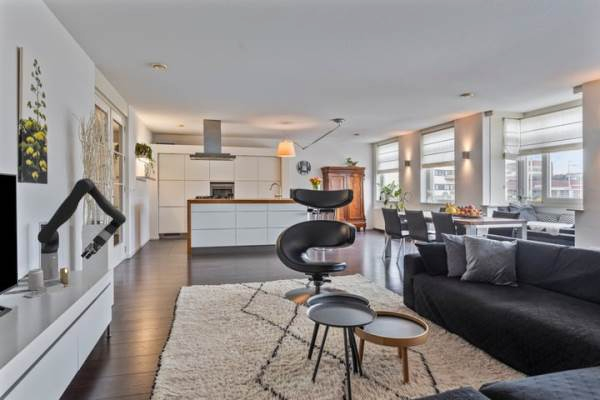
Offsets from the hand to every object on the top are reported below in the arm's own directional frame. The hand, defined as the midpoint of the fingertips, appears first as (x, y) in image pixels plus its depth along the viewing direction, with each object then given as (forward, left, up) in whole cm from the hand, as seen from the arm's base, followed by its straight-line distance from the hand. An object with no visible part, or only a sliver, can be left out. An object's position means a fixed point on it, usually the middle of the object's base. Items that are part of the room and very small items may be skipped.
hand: (84, 257), depth 232 cm
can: (-7, -25, -15) cm, 30 cm away
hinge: (+6, -24, -15) cm, 29 cm away
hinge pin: (-3, -11, -15) cm, 19 cm away
